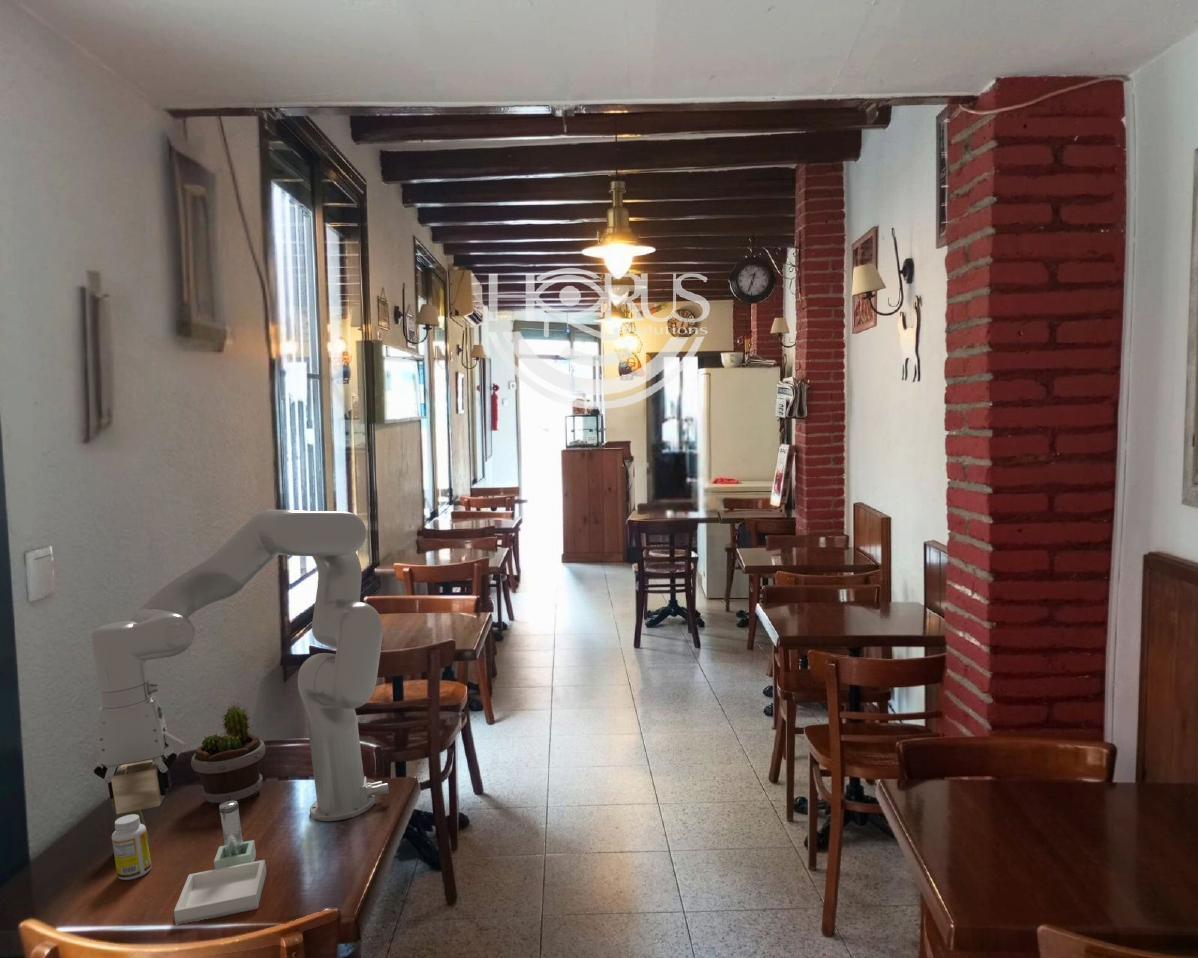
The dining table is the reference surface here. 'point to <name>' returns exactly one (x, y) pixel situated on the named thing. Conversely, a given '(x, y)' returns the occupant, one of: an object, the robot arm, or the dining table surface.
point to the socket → (247, 857)
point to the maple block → (136, 787)
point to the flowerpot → (230, 761)
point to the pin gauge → (231, 828)
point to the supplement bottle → (131, 848)
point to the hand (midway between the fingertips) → (141, 796)
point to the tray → (221, 892)
